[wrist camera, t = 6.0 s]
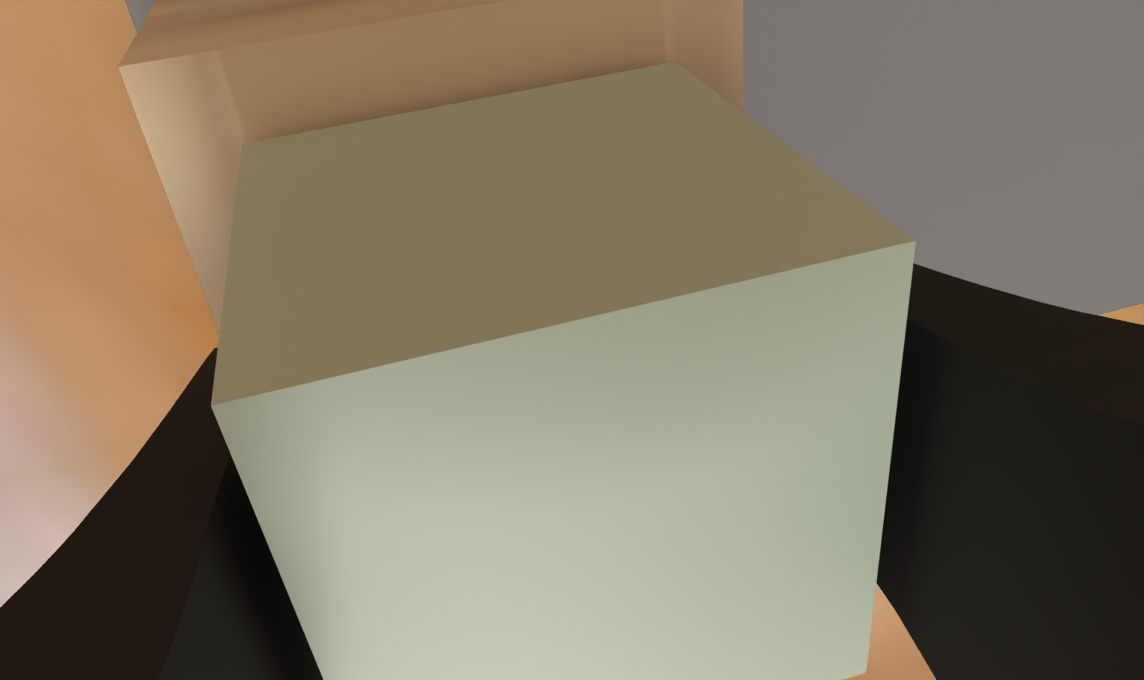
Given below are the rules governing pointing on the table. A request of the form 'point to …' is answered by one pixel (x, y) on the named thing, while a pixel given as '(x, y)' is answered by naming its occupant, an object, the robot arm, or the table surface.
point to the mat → (968, 129)
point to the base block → (374, 75)
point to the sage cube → (565, 388)
